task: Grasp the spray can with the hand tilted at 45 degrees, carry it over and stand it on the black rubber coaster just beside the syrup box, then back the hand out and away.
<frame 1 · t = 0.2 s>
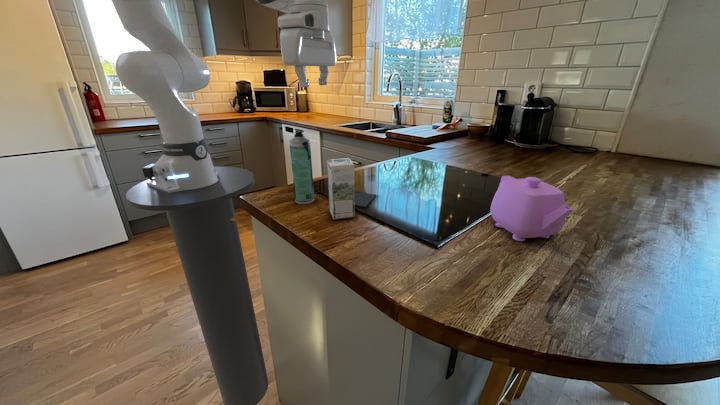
hand: (314, 86, 75), 31 cm above the worktop, tool pointing down, fingers open, 8 cm apart
coaster: (356, 199, 87), on the worktop
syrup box: (342, 215, 78), on the worktop
spray can: (305, 201, 86), on the worktop
teapot: (522, 231, 69), on the worktop
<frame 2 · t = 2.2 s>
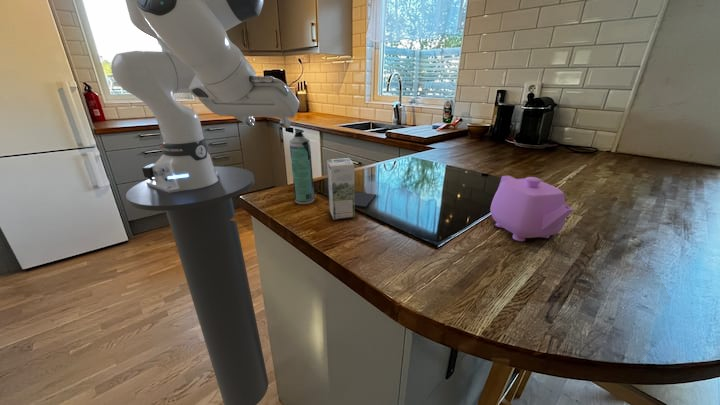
hand: (269, 124, 67), 24 cm above the worktop, tool tilted 45°, fingers open, 8 cm apart
nothing on the worktop moved.
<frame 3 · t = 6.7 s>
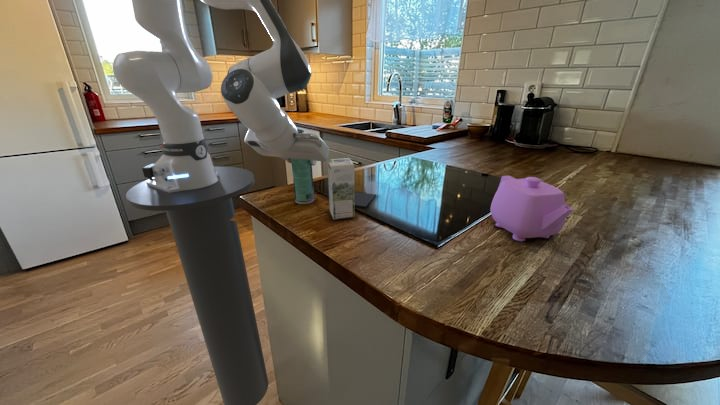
hand: (302, 162, 82), 11 cm above the worktop, tool tilted 45°, fingers closed on spray can, 5 cm apart
spray can: (305, 201, 87), on the worktop, touching gripper
everything else where it was.
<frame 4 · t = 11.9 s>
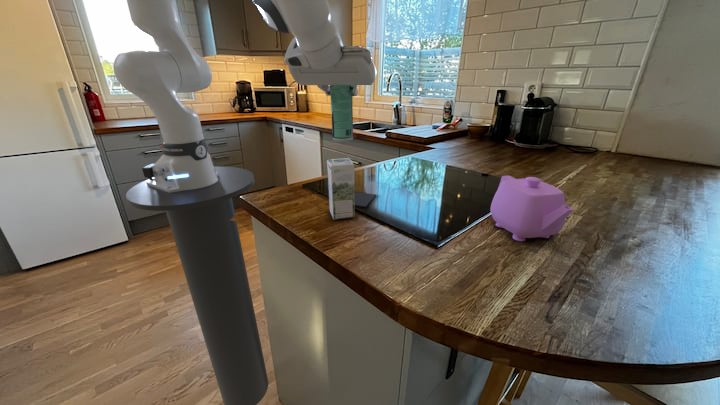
hand: (342, 93, 75), 29 cm above the worktop, tool tilted 45°, fingers closed on spray can, 5 cm apart
spray can: (342, 140, 79), point 18 cm above the worktop, touching gripper
everything else where it was.
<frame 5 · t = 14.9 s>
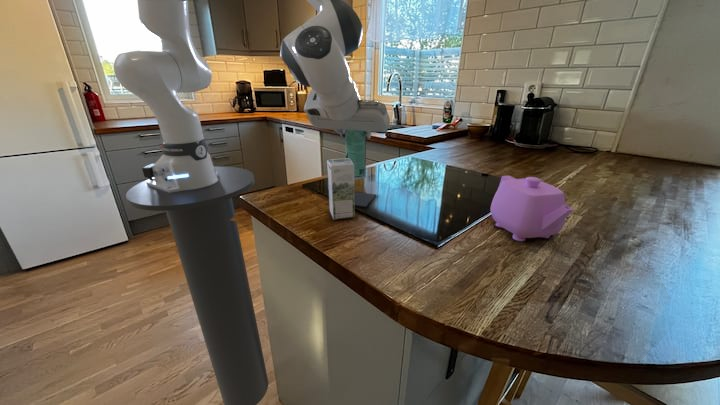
hand: (356, 135, 80), 18 cm above the worktop, tool tilted 45°, fingers closed on spray can, 5 cm apart
spray can: (356, 177, 84), point 7 cm above the worktop, touching gripper
everything else where it was.
when the fingers open (12 cm above the worktop, at t = 17.3 s): spray can stays where it is, resting on coaster.
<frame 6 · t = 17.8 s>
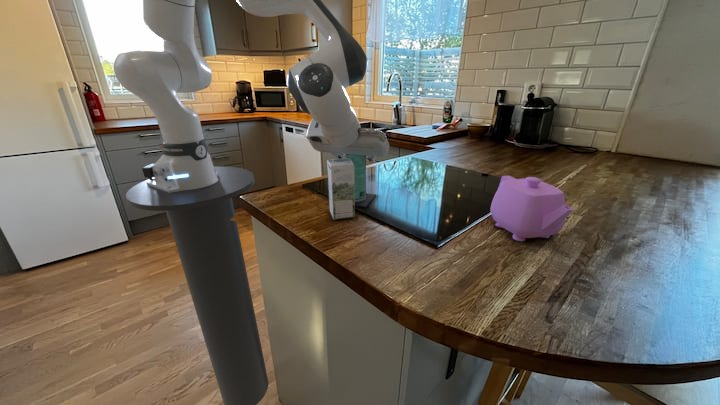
hand: (356, 158, 82), 12 cm above the worktop, tool tilted 45°, fingers open, 8 cm apart
spray can: (356, 198, 86), resting on coaster
everything else where it was.
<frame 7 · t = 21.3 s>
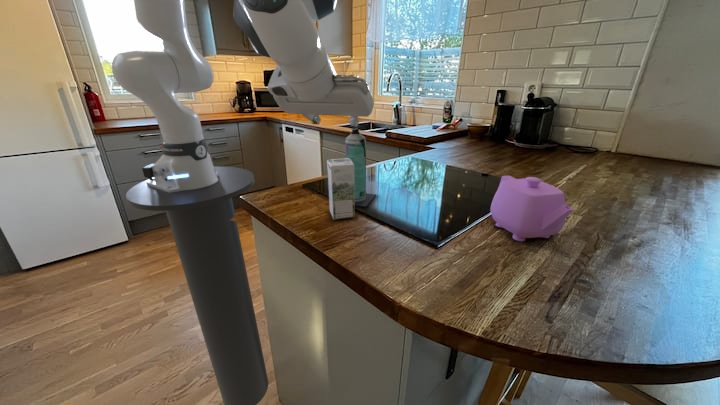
hand: (335, 122, 67), 24 cm above the worktop, tool tilted 45°, fingers open, 8 cm apart
nothing on the worktop moved.
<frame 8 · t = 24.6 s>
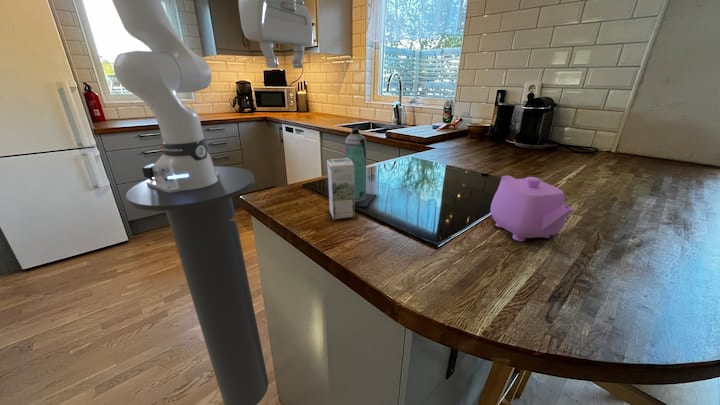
hand: (286, 67, 63), 35 cm above the worktop, tool pointing down, fingers open, 8 cm apart
nothing on the worktop moved.
at the end: spray can inside the target area (0.2 cm from its centre), resting on coaster; spray can tilted 0°; spray can 10.5 cm from the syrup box (horizontally) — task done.
